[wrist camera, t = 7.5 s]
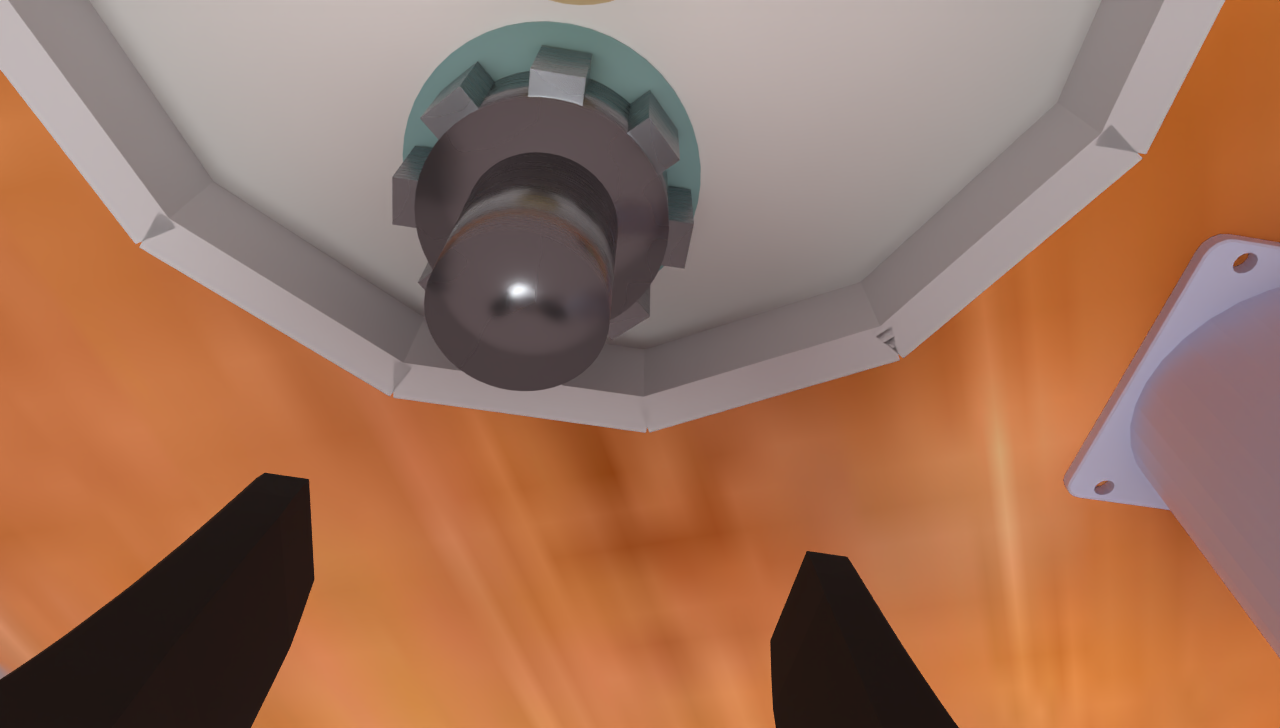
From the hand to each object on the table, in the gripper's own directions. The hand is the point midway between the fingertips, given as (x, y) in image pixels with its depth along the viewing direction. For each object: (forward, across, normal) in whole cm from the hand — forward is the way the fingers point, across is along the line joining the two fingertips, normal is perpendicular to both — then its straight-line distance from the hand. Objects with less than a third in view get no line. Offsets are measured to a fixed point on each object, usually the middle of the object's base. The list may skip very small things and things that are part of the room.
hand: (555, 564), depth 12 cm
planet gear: (+9, +1, -2) cm, 9 cm away
